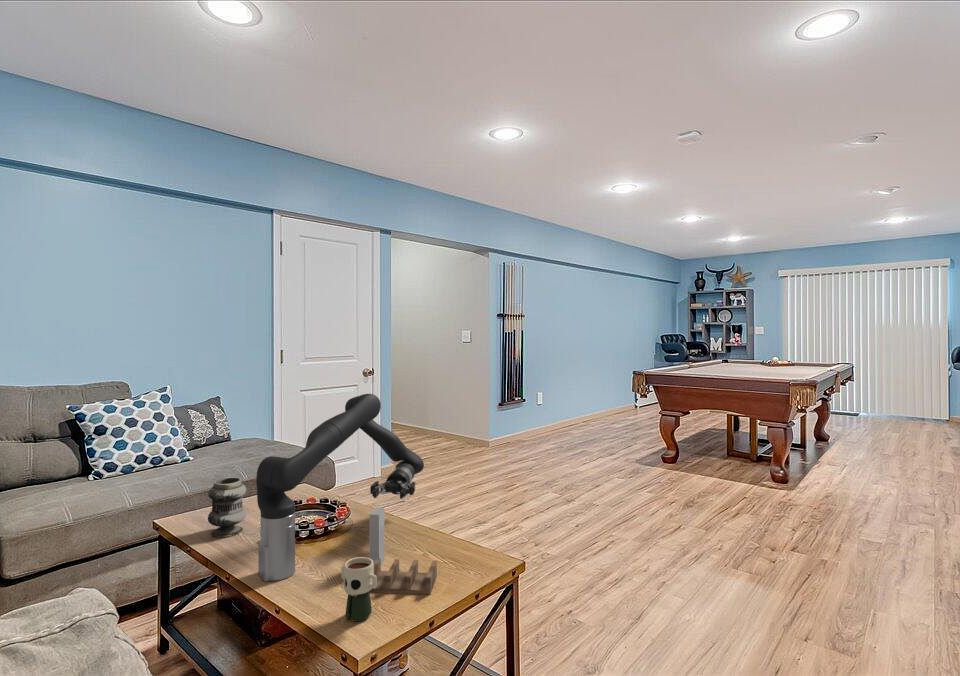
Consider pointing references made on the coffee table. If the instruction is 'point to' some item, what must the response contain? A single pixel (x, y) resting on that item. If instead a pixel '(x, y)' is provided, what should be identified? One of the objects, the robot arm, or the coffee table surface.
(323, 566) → the coffee table surface
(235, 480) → the grey stone urn vase
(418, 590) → the drying rack
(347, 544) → the coffee table surface
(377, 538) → the clay strip
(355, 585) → the character mug
